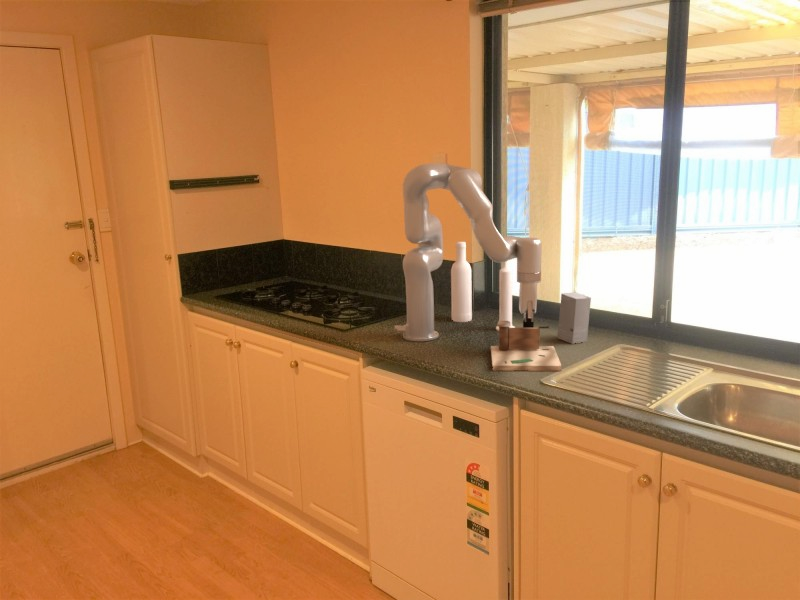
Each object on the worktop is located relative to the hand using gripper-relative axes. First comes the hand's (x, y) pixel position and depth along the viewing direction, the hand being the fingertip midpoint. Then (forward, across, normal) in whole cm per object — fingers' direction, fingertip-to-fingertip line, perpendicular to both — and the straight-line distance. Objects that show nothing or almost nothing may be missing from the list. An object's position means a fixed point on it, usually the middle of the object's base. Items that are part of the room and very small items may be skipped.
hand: (528, 332), depth 218 cm
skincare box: (+6, -11, +16) cm, 20 cm away
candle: (+6, -25, -6) cm, 26 cm away
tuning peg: (+4, +5, -2) cm, 7 cm away
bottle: (+6, -39, -22) cm, 45 cm away
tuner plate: (+6, +11, -2) cm, 13 cm away
